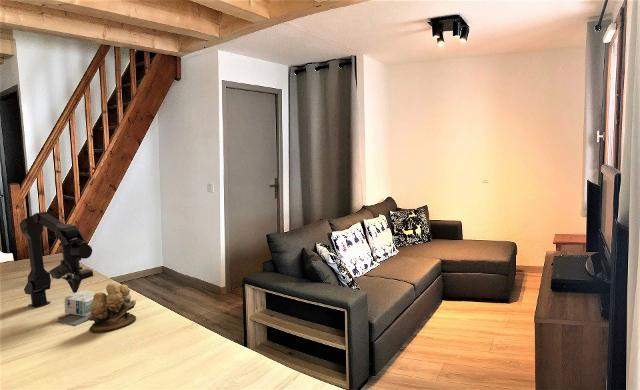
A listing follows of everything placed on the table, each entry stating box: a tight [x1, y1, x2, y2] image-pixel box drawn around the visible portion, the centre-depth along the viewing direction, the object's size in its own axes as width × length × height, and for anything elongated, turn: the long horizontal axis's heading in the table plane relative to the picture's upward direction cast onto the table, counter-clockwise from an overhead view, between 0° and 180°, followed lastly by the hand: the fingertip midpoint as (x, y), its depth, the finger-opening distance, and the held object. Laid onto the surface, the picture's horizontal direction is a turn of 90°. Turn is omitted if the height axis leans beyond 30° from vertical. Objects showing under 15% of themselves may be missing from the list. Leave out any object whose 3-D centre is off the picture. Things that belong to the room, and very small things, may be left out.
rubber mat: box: [57, 314, 92, 327], centre depth 185 cm, size 11×18×1 cm, turn 152°
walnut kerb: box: [57, 313, 74, 321], centre depth 188 cm, size 1×16×1 cm, turn 152°
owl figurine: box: [88, 282, 137, 334], centre depth 173 cm, size 18×12×17 cm, turn 136°
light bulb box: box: [64, 289, 99, 317], centre depth 188 cm, size 11×7×11 cm
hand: (75, 292), depth 187 cm, fingers closed
